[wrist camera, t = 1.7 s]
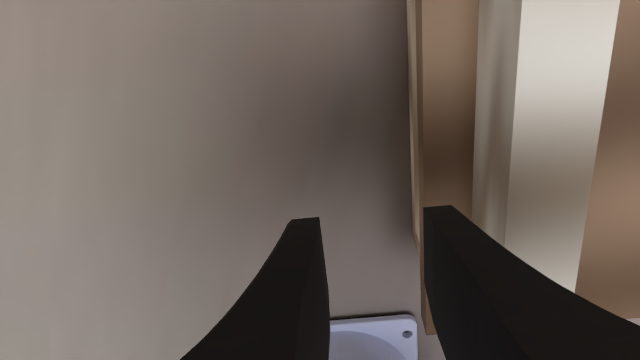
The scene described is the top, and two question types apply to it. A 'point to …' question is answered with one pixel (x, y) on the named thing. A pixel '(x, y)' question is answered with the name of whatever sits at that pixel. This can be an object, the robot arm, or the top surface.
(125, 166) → the top surface
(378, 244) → the top surface
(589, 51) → the lid
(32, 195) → the top surface
